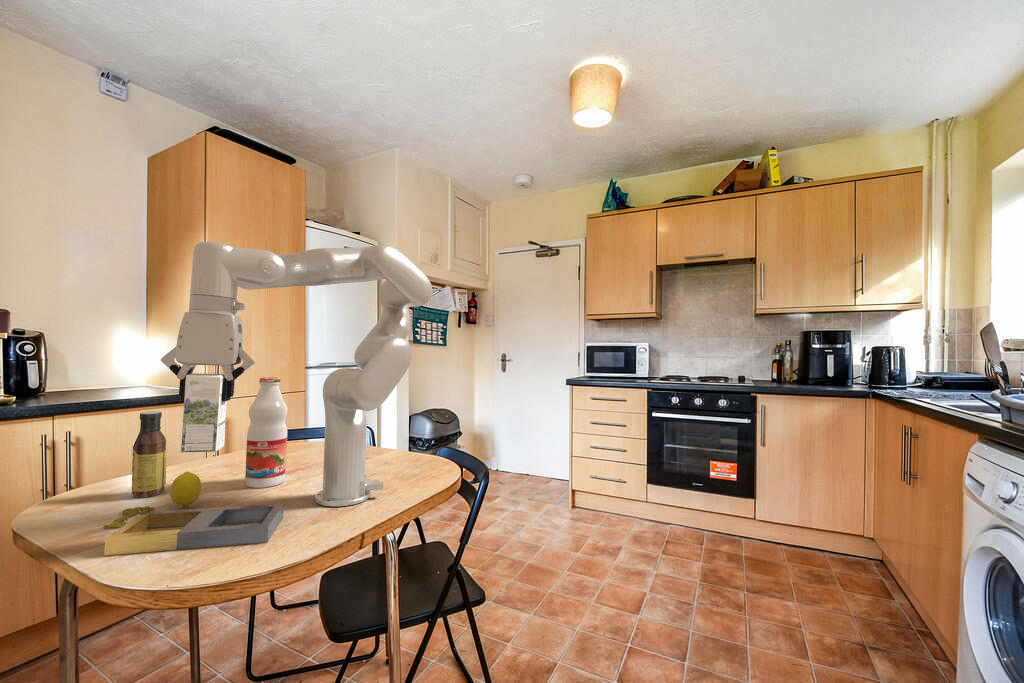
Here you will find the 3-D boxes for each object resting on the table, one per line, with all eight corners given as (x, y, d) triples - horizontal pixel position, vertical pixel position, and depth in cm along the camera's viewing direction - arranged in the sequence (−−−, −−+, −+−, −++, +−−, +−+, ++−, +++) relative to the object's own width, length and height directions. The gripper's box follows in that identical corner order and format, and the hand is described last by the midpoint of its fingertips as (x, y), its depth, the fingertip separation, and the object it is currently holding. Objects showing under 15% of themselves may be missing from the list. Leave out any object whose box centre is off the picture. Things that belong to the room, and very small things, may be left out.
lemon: (183, 513, 93) (185, 476, 93) (162, 510, 94) (164, 473, 94) (206, 504, 98) (208, 469, 98) (186, 502, 99) (188, 467, 99)
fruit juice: (290, 477, 120) (294, 377, 121) (278, 488, 111) (282, 379, 111) (253, 478, 118) (258, 376, 119) (238, 489, 109) (243, 378, 110)
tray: (283, 517, 92) (283, 503, 92) (267, 542, 80) (268, 526, 80) (143, 527, 85) (143, 512, 85) (104, 555, 73) (105, 538, 73)
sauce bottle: (144, 490, 106) (148, 409, 107) (171, 490, 107) (175, 410, 107) (123, 499, 100) (127, 413, 100) (151, 499, 100) (155, 413, 101)
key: (118, 524, 84) (90, 524, 83) (118, 531, 84) (89, 531, 83) (159, 504, 96) (134, 504, 95) (159, 509, 96) (134, 510, 95)
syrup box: (225, 446, 86) (229, 373, 87) (215, 452, 81) (221, 375, 81) (191, 446, 84) (196, 372, 85) (179, 453, 79) (184, 374, 79)
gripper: (267, 312, 90) (261, 399, 89) (169, 305, 85) (162, 397, 84) (258, 308, 82) (251, 403, 82) (150, 301, 77) (142, 402, 77)
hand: (206, 399), depth 83 cm, fingers closed on syrup box, 5 cm apart
